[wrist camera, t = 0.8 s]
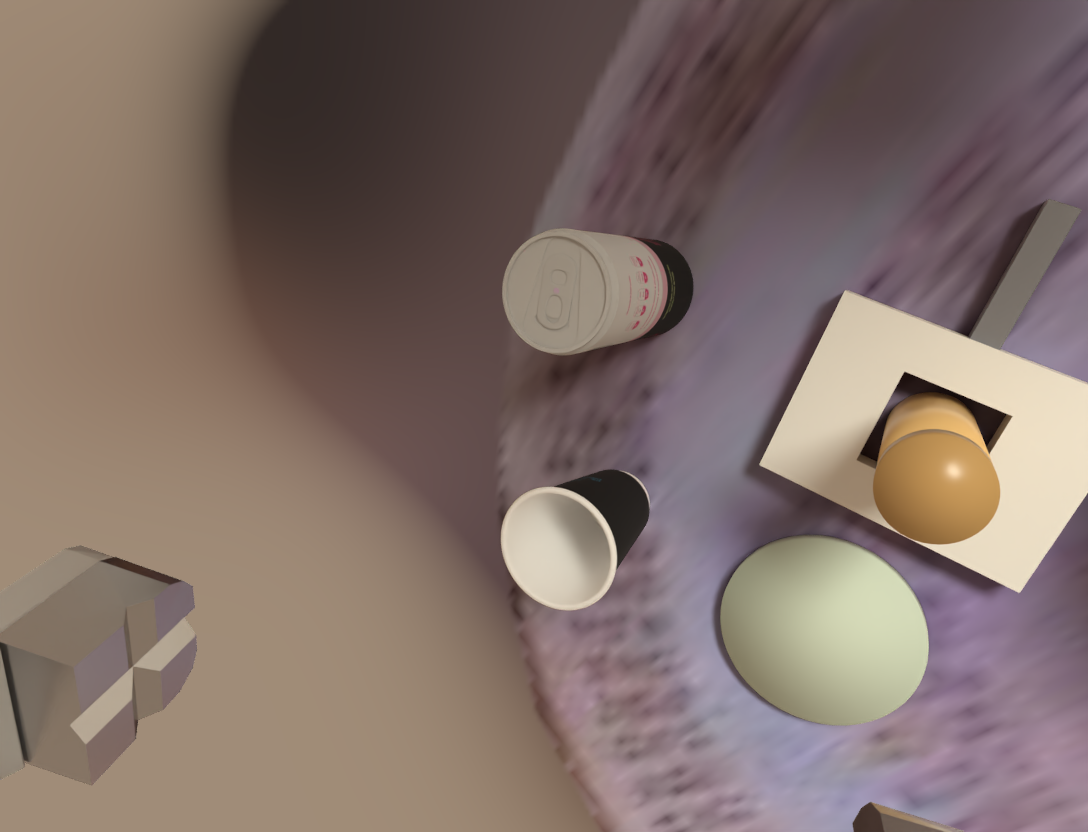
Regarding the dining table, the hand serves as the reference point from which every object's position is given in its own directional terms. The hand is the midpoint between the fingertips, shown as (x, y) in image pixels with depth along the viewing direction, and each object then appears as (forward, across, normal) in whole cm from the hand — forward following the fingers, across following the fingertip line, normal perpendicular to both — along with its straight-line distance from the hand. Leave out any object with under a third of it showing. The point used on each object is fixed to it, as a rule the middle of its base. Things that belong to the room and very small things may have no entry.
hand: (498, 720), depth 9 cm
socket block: (+39, -18, +5) cm, 43 cm away
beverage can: (+44, +2, +6) cm, 45 cm away
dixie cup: (+41, 0, +21) cm, 47 cm away
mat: (+37, -15, +24) cm, 46 cm away
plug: (+38, -17, +9) cm, 43 cm away
